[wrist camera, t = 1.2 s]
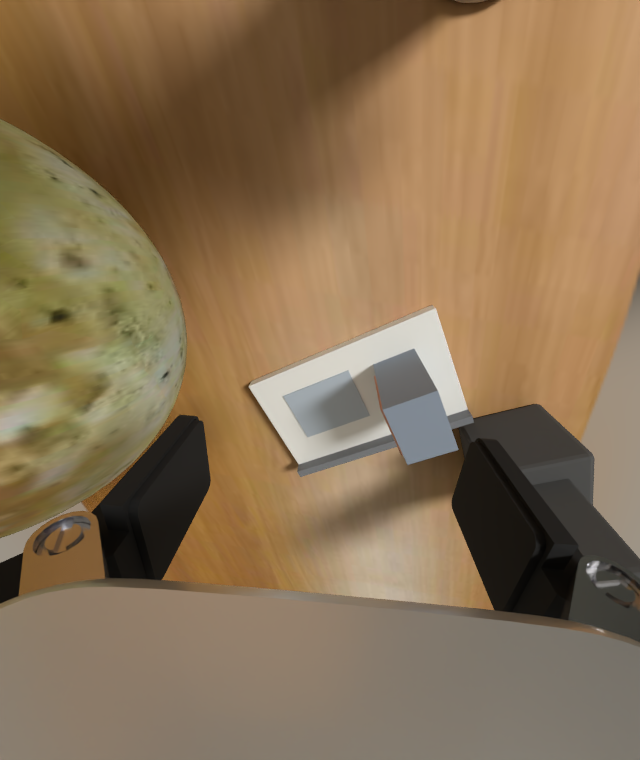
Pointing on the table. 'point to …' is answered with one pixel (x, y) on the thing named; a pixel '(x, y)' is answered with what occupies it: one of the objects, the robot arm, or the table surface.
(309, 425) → the shelf board
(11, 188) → the speckled stone ball
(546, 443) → the sculpture
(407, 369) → the box
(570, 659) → the robot arm
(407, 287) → the table surface
